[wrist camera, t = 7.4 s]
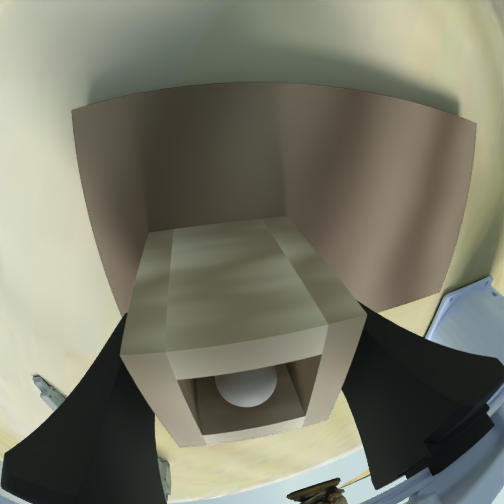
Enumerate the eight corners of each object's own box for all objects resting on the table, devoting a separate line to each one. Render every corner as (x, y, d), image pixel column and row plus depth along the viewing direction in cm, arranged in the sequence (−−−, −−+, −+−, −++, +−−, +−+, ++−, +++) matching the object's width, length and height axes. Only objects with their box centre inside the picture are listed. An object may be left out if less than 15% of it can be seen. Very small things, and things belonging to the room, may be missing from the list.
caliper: (169, 460, 25) (174, 502, 20) (162, 460, 25) (167, 503, 20) (40, 373, 15) (22, 439, 9) (33, 374, 15) (16, 438, 9)
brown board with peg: (458, 118, 12) (556, 150, 5) (427, 281, 17) (490, 343, 11) (85, 109, 8) (-42, 125, 2) (141, 336, 14) (134, 457, 8)
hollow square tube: (286, 216, 11) (366, 314, 6) (282, 317, 13) (327, 419, 8) (148, 232, 10) (119, 355, 5) (174, 333, 13) (179, 447, 7)
